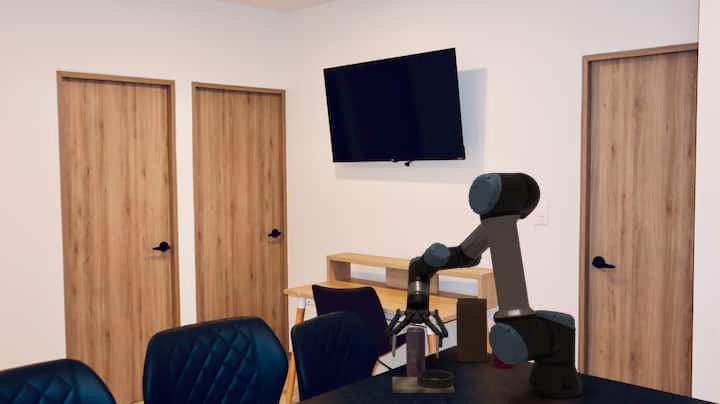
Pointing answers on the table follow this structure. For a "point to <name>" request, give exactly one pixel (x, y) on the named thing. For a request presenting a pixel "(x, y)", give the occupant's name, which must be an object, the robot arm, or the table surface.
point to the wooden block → (471, 329)
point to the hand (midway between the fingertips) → (415, 355)
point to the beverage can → (415, 351)
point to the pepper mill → (496, 361)
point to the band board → (414, 387)
